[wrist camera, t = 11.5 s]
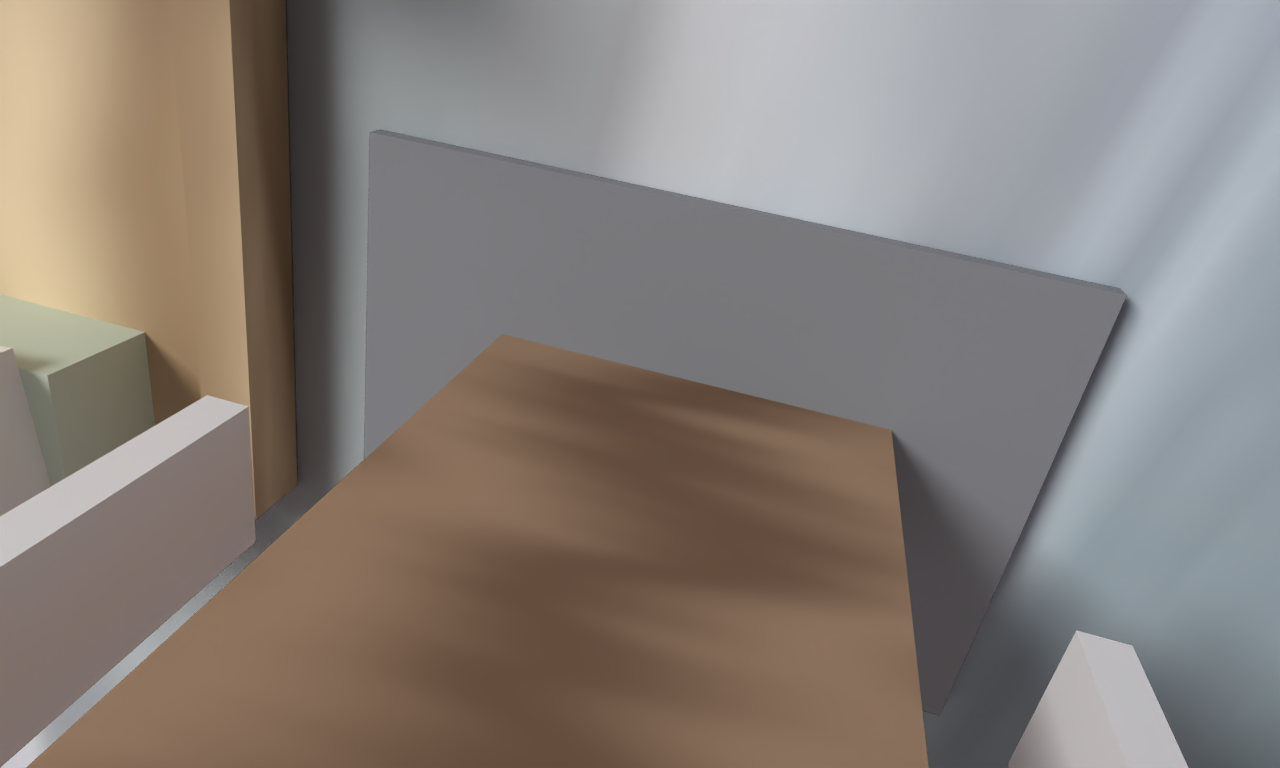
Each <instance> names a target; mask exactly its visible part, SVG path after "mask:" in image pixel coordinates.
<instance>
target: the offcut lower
mask: <svg viewBox="0 0 1280 768" xmlns="http://www.w3.org/2000/svg"><path fill="white" fill-rule="evenodd" d="M0 346H3V347H9V348H13V351H14V355H15V358H16V362H17V365H18V369H19V373H20V376H21V380H22V383H23V387H24V390H25V394H26V398H27V401H28V405H29V408H30V412H31V415H32V419H33V423H34V426H35V430H36V433H37V437H38V440H39V444H40V448H41V451H42V455H43V458H44V462H45V465H46V469H47V473H48V476H49V480H50V483H51V486H53V485H55V484H56V483H58V482H60V481H62V480H63V479H65V478H67V477H68V476H70V475H72V474H73V473H75V472H77V471H79V470H80V469H82V468H84V467H85V466H87V465H89V464H90V463H92V462H94V461H96V460H97V459H99V458H101V457H102V456H104V455H106V454H108V453H109V452H111V451H113V450H114V449H116V448H118V447H119V446H121V445H123V444H125V443H126V442H128V441H130V440H131V439H133V438H135V437H137V436H138V435H140V434H142V433H143V432H145V431H147V430H148V429H150V428H152V427H154V426H155V420H154V411H153V402H152V393H151V384H150V375H149V366H148V357H147V348H146V338H145V332H142V331H139V330H135V329H131V328H127V327H123V326H120V325H116V324H112V323H108V322H104V321H100V320H97V319H93V318H89V317H85V316H81V315H78V314H74V313H70V312H66V311H62V310H58V309H55V308H51V307H47V306H43V305H39V304H36V303H32V302H28V301H24V300H20V299H17V298H13V297H9V296H5V295H1V294H0Z"/></svg>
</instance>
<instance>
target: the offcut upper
mask: <svg viewBox="0 0 1280 768" xmlns="http://www.w3.org/2000/svg"><path fill="white" fill-rule="evenodd" d="M50 487H51V483H50V480H49V476H48V473H47V469H46V465H45V462H44V458H43V455H42V451H41V448H40V444H39V440H38V437H37V433H36V430H35V426H34V423H33V419H32V415H31V412H30V408H29V405H28V401H27V398H26V394H25V390H24V387H23V383H22V380H21V376H20V373H19V369H18V365H17V362H16V358H15V355H14V351H13V348H9V347H3V346H0V516H2V515H4V514H5V513H7V512H9V511H10V510H12V509H14V508H16V507H17V506H19V505H21V504H22V503H24V502H26V501H27V500H29V499H31V498H33V497H34V496H36V495H38V494H39V493H41V492H43V491H44V490H46V489H48V488H50Z"/></svg>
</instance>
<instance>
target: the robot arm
mask: <svg viewBox="0 0 1280 768" xmlns="http://www.w3.org/2000/svg"><path fill="white" fill-rule="evenodd" d="M255 542H256V538H255V519H254V500H253V481H252V461H251V442H250V423H249V406H245V405H241V404H238V403H234V402H230V401H227V400H223V399H219V398H216V397H212V396H208V395H206V396H205V397H203V398H201V399H200V400H198V401H196V402H194V403H193V404H191V405H189V406H188V407H186V408H184V409H183V410H181V411H179V412H177V413H176V414H174V415H172V416H171V417H169V418H167V419H165V420H164V421H162V422H160V423H159V424H157V425H155V426H154V427H152V428H150V429H148V430H147V431H145V432H143V433H142V434H140V435H138V436H137V437H135V438H133V439H131V440H130V441H128V442H126V443H125V444H123V445H121V446H119V447H118V448H116V449H114V450H113V451H111V452H109V453H108V454H106V455H104V456H102V457H101V458H99V459H97V460H96V461H94V462H92V463H90V464H89V465H87V466H85V467H84V468H82V469H80V470H79V471H77V472H75V473H73V474H72V475H70V476H68V477H67V478H65V479H63V480H62V481H60V482H58V483H56V484H55V485H53V486H51V487H50V488H48V489H46V490H44V491H43V492H41V493H39V494H38V495H36V496H34V497H33V498H31V499H29V500H27V501H26V502H24V503H22V504H21V505H19V506H17V507H16V508H14V509H12V510H10V511H9V512H7V513H5V514H4V515H2V516H0V767H1V766H3V765H4V764H5V763H6V762H7V761H8V760H9V759H10V758H12V757H13V756H14V755H15V754H16V753H17V752H18V751H20V750H21V749H22V748H23V747H24V746H25V745H26V744H27V743H29V742H30V741H31V740H32V739H33V738H34V737H35V736H36V735H38V734H39V733H40V732H41V731H42V730H43V729H44V728H46V727H47V726H48V725H49V724H50V723H51V722H52V721H53V720H55V719H56V718H57V717H58V716H59V715H60V714H61V713H63V712H64V711H65V710H66V709H67V708H68V707H69V706H70V705H72V704H73V703H74V702H75V701H76V700H77V699H78V698H79V697H81V696H82V695H83V694H84V693H85V692H86V691H87V690H89V689H90V688H91V687H92V686H93V685H94V684H95V683H96V682H98V681H99V680H100V679H101V678H102V677H103V676H104V675H106V674H107V673H108V672H109V671H110V670H111V669H112V668H113V667H115V666H116V665H117V664H118V663H119V662H120V661H121V660H123V659H124V658H125V657H126V656H127V655H128V654H129V653H130V652H132V651H133V650H134V649H135V648H136V647H137V646H138V645H139V644H141V643H142V642H143V641H144V640H145V639H146V638H147V637H149V636H150V635H151V634H152V633H153V632H154V631H155V630H156V629H158V628H159V627H160V626H161V625H162V624H163V623H164V622H166V621H167V620H168V619H169V618H170V617H171V616H172V615H173V614H175V613H176V612H177V611H178V610H179V609H180V608H181V607H183V606H184V605H185V604H186V603H187V602H188V601H189V600H190V599H192V598H193V597H194V596H195V595H196V594H197V593H198V592H199V591H201V590H202V589H203V588H204V587H205V586H206V585H207V584H209V583H210V582H211V581H212V580H213V579H214V578H215V577H216V576H218V575H219V574H220V573H221V572H222V571H223V570H224V569H226V568H227V567H228V566H229V565H230V564H231V563H232V562H233V561H235V560H236V559H237V558H238V557H239V556H240V555H241V554H242V553H244V552H245V551H246V550H247V549H248V548H249V547H250V546H252V545H253V544H254V543H255ZM1008 767H1009V768H1188V766H1187V764H1186V761H1185V759H1184V757H1183V755H1182V753H1181V750H1180V748H1179V746H1178V744H1177V742H1176V740H1175V737H1174V735H1173V733H1172V731H1171V729H1170V726H1169V724H1168V722H1167V720H1166V718H1165V716H1164V713H1163V711H1162V709H1161V707H1160V705H1159V702H1158V700H1157V698H1156V696H1155V694H1154V692H1153V689H1152V687H1151V685H1150V683H1149V681H1148V678H1147V676H1146V674H1145V672H1144V670H1143V667H1142V665H1141V663H1140V661H1139V659H1138V657H1137V654H1136V652H1135V650H1134V648H1133V646H1132V645H1128V644H1125V643H1121V642H1117V641H1114V640H1110V639H1106V638H1102V637H1099V636H1095V635H1091V634H1088V633H1084V632H1080V631H1077V630H1076V632H1075V634H1074V636H1073V638H1072V640H1071V642H1070V644H1069V646H1068V648H1067V650H1066V652H1065V654H1064V655H1063V657H1062V659H1061V661H1060V663H1059V665H1058V667H1057V669H1056V671H1055V673H1054V675H1053V677H1052V679H1051V681H1050V683H1049V685H1048V687H1047V689H1046V690H1045V692H1044V694H1043V696H1042V698H1041V700H1040V702H1039V704H1038V706H1037V708H1036V710H1035V712H1034V714H1033V716H1032V718H1031V720H1030V722H1029V724H1028V726H1027V727H1026V729H1025V731H1024V733H1023V735H1022V737H1021V739H1020V741H1019V743H1018V745H1017V747H1016V749H1015V751H1014V753H1013V755H1012V757H1011V759H1010V761H1009V763H1008Z"/></svg>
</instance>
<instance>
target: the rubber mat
mask: <svg viewBox="0 0 1280 768" xmlns="http://www.w3.org/2000/svg"><path fill="white" fill-rule="evenodd" d="M1126 296H1127V295H1126V294H1125V293H1124V292H1123V291H1122V290H1121V289H1120V288H1115V287H1111V286H1106V285H1101V284H1097V283H1092V282H1087V281H1083V280H1078V279H1073V278H1069V277H1064V276H1059V275H1055V274H1050V273H1045V272H1041V271H1036V270H1031V269H1027V268H1022V267H1017V266H1013V265H1008V264H1003V263H999V262H994V261H989V260H985V259H980V258H976V257H971V256H966V255H962V254H957V253H952V252H948V251H943V250H938V249H934V248H929V247H924V246H920V245H915V244H910V243H906V242H901V241H896V240H892V239H887V238H882V237H878V236H873V235H868V234H864V233H859V232H854V231H850V230H845V229H840V228H836V227H831V226H826V225H822V224H817V223H813V222H808V221H803V220H799V219H794V218H789V217H785V216H780V215H775V214H771V213H766V212H761V211H757V210H752V209H747V208H743V207H738V206H733V205H729V204H724V203H719V202H715V201H710V200H705V199H701V198H696V197H691V196H687V195H682V194H677V193H673V192H668V191H663V190H659V189H654V188H650V187H645V186H640V185H636V184H631V183H626V182H622V181H617V180H612V179H608V178H603V177H598V176H594V175H589V174H584V173H580V172H575V171H570V170H566V169H561V168H556V167H552V166H547V165H542V164H538V163H533V162H528V161H524V160H519V159H514V158H510V157H505V156H500V155H496V154H491V153H487V152H482V151H477V150H473V149H468V148H463V147H459V146H454V145H449V144H445V143H440V142H435V141H431V140H426V139H421V138H417V137H412V136H407V135H403V134H398V133H393V132H389V131H384V130H376V131H372V132H370V136H369V194H368V252H367V310H366V368H365V425H364V459H365V458H366V457H368V456H369V455H370V454H371V453H372V452H373V451H374V450H375V449H376V448H377V447H379V446H380V445H381V444H382V443H383V442H384V441H385V440H386V439H387V438H388V437H389V436H391V435H392V434H393V433H394V432H395V431H396V430H397V429H398V428H399V427H400V426H402V425H403V424H404V423H405V422H406V421H407V420H408V419H409V418H410V417H411V416H413V415H414V414H415V413H416V412H417V411H418V410H419V409H420V408H421V407H422V406H423V405H425V404H426V403H427V402H428V401H429V400H430V399H431V398H432V397H433V396H434V395H436V394H437V393H438V392H439V391H440V390H441V389H442V388H443V387H444V386H445V385H447V384H448V383H449V382H450V381H451V380H452V379H453V378H454V377H455V376H456V375H458V374H459V373H460V372H461V371H462V370H463V369H464V368H465V367H466V366H467V365H468V364H470V363H471V362H472V361H473V360H474V359H475V358H476V357H477V356H478V355H479V354H481V353H482V352H483V351H484V350H485V349H486V348H487V347H488V346H489V345H490V344H492V343H493V342H494V341H495V340H496V339H497V338H498V337H499V336H500V335H501V334H504V335H508V336H512V337H516V338H520V339H524V340H528V341H532V342H536V343H540V344H544V345H548V346H552V347H556V348H561V349H565V350H569V351H573V352H577V353H581V354H585V355H589V356H593V357H597V358H601V359H605V360H609V361H613V362H617V363H621V364H625V365H630V366H634V367H638V368H642V369H646V370H650V371H654V372H658V373H662V374H666V375H670V376H674V377H678V378H682V379H686V380H690V381H695V382H699V383H703V384H707V385H711V386H715V387H719V388H723V389H727V390H731V391H735V392H739V393H743V394H747V395H751V396H755V397H759V398H764V399H768V400H772V401H776V402H780V403H784V404H788V405H792V406H796V407H800V408H804V409H808V410H812V411H816V412H820V413H824V414H829V415H833V416H837V417H841V418H845V419H849V420H853V421H857V422H861V423H865V424H869V425H873V426H877V427H881V428H885V429H889V430H891V431H892V440H893V449H894V458H895V467H896V476H897V485H898V494H899V503H900V512H901V521H902V530H903V540H904V549H905V558H906V567H907V576H908V585H909V594H910V603H911V612H912V621H913V630H914V639H915V648H916V657H917V666H918V675H919V684H920V694H921V703H922V711H925V712H928V713H932V714H935V715H939V716H940V714H941V711H942V709H943V707H944V705H945V702H946V700H947V698H948V696H949V693H950V691H951V689H952V687H953V684H954V682H955V680H956V678H957V675H958V673H959V671H960V669H961V666H962V664H963V662H964V660H965V658H966V655H967V653H968V651H969V649H970V646H971V644H972V642H973V640H974V637H975V635H976V633H977V631H978V628H979V626H980V624H981V622H982V619H983V617H984V615H985V613H986V610H987V608H988V606H989V604H990V601H991V599H992V597H993V595H994V592H995V590H996V588H997V586H998V583H999V581H1000V579H1001V577H1002V574H1003V572H1004V570H1005V568H1006V565H1007V563H1008V561H1009V559H1010V556H1011V554H1012V552H1013V550H1014V547H1015V545H1016V543H1017V541H1018V538H1019V536H1020V534H1021V532H1022V529H1023V527H1024V525H1025V523H1026V520H1027V518H1028V516H1029V514H1030V512H1031V509H1032V507H1033V505H1034V503H1035V500H1036V498H1037V496H1038V494H1039V491H1040V489H1041V487H1042V485H1043V482H1044V480H1045V478H1046V476H1047V473H1048V471H1049V469H1050V467H1051V464H1052V462H1053V460H1054V458H1055V455H1056V453H1057V451H1058V449H1059V446H1060V444H1061V442H1062V440H1063V437H1064V435H1065V433H1066V431H1067V428H1068V426H1069V424H1070V422H1071V419H1072V417H1073V415H1074V413H1075V410H1076V408H1077V406H1078V404H1079V401H1080V399H1081V397H1082V395H1083V392H1084V390H1085V388H1086V386H1087V383H1088V381H1089V379H1090V377H1091V374H1092V372H1093V370H1094V368H1095V365H1096V363H1097V361H1098V359H1099V357H1100V354H1101V352H1102V350H1103V348H1104V345H1105V343H1106V341H1107V339H1108V336H1109V334H1110V332H1111V330H1112V327H1113V325H1114V323H1115V321H1116V318H1117V316H1118V314H1119V312H1120V309H1121V307H1122V305H1123V303H1124V300H1125V298H1126Z"/></svg>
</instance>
